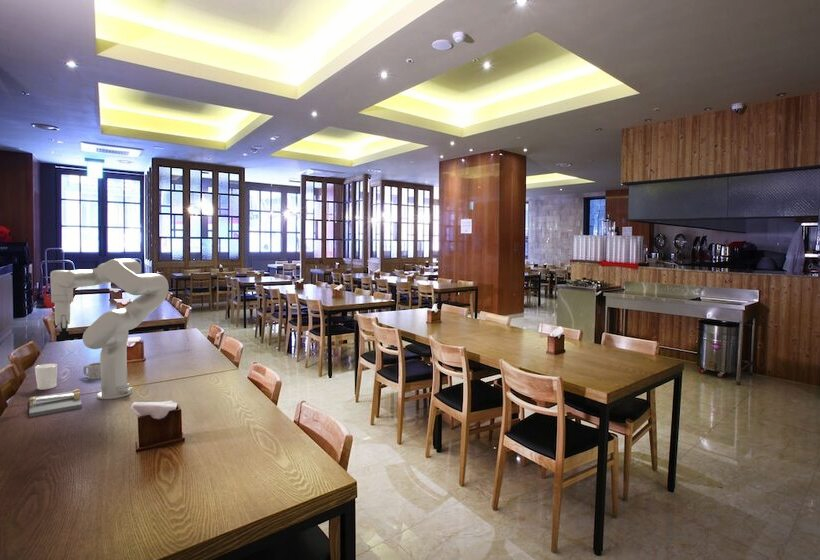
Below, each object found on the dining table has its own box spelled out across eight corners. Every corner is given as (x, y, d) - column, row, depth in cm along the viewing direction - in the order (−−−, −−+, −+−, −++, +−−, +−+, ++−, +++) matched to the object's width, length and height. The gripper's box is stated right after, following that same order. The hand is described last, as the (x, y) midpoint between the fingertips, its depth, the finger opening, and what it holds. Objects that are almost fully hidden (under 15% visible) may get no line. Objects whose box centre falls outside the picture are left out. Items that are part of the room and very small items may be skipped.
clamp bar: (78, 395, 188) (78, 392, 188) (79, 397, 186) (79, 394, 186) (36, 400, 179) (36, 396, 179) (36, 402, 177) (36, 399, 177)
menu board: (78, 393, 196) (77, 384, 195) (81, 407, 179) (81, 397, 178) (30, 401, 186) (29, 391, 185) (29, 417, 169) (28, 406, 168)
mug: (108, 375, 222) (107, 362, 222) (97, 379, 216) (97, 366, 215) (89, 375, 223) (89, 362, 223) (78, 379, 217) (77, 365, 216)
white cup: (48, 390, 199) (47, 368, 199) (31, 390, 200) (30, 368, 199) (62, 384, 207) (61, 363, 206) (45, 384, 207) (44, 363, 207)
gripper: (51, 297, 199) (53, 338, 200) (51, 300, 187) (53, 344, 188) (72, 296, 203) (74, 336, 205) (74, 299, 192) (76, 341, 193)
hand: (64, 339), depth 197 cm, fingers closed
